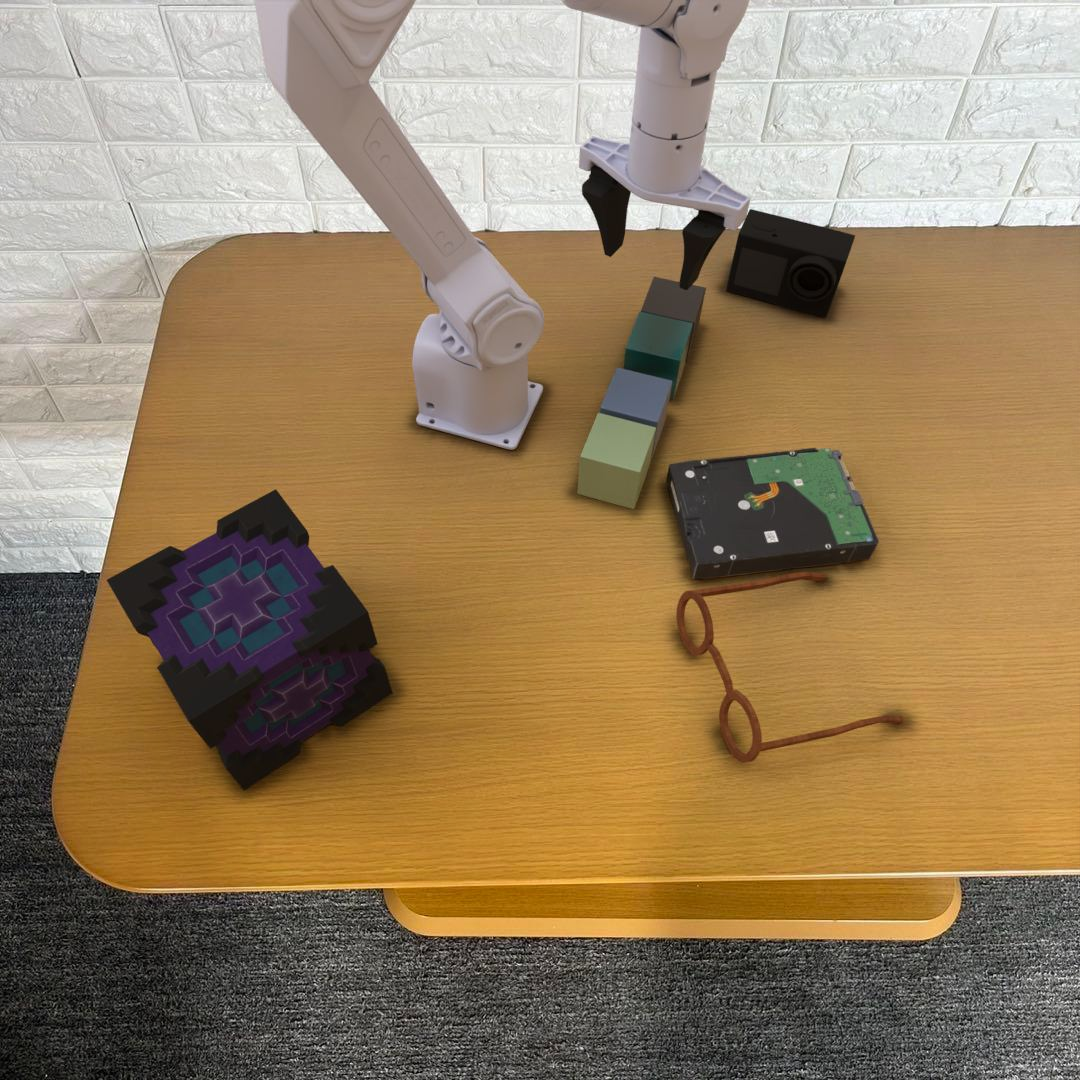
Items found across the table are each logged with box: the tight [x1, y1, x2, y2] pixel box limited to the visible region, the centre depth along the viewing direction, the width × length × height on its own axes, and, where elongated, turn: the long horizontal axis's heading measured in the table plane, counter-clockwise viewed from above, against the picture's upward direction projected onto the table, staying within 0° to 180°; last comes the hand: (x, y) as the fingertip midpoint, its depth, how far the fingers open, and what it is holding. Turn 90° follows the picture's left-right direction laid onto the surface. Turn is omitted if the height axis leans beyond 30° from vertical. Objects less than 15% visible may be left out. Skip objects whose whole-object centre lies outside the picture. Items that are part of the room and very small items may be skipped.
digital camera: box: [725, 208, 856, 319], centre depth 87 cm, size 10×5×7 cm, turn 67°
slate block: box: [599, 366, 672, 461], centre depth 78 cm, size 5×5×5 cm
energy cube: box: [106, 489, 394, 791], centre depth 61 cm, size 12×12×12 cm
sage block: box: [577, 412, 656, 510], centre depth 75 cm, size 5×5×5 cm
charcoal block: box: [640, 276, 707, 364], centre depth 84 cm, size 5×5×5 cm
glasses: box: [676, 571, 906, 764], centre depth 65 cm, size 13×13×5 cm
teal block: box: [622, 311, 693, 401], centre depth 82 cm, size 5×5×5 cm
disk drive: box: [665, 447, 880, 580], centre depth 73 cm, size 10×3×15 cm
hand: (650, 266), depth 79 cm, fingers open, 7 cm apart
